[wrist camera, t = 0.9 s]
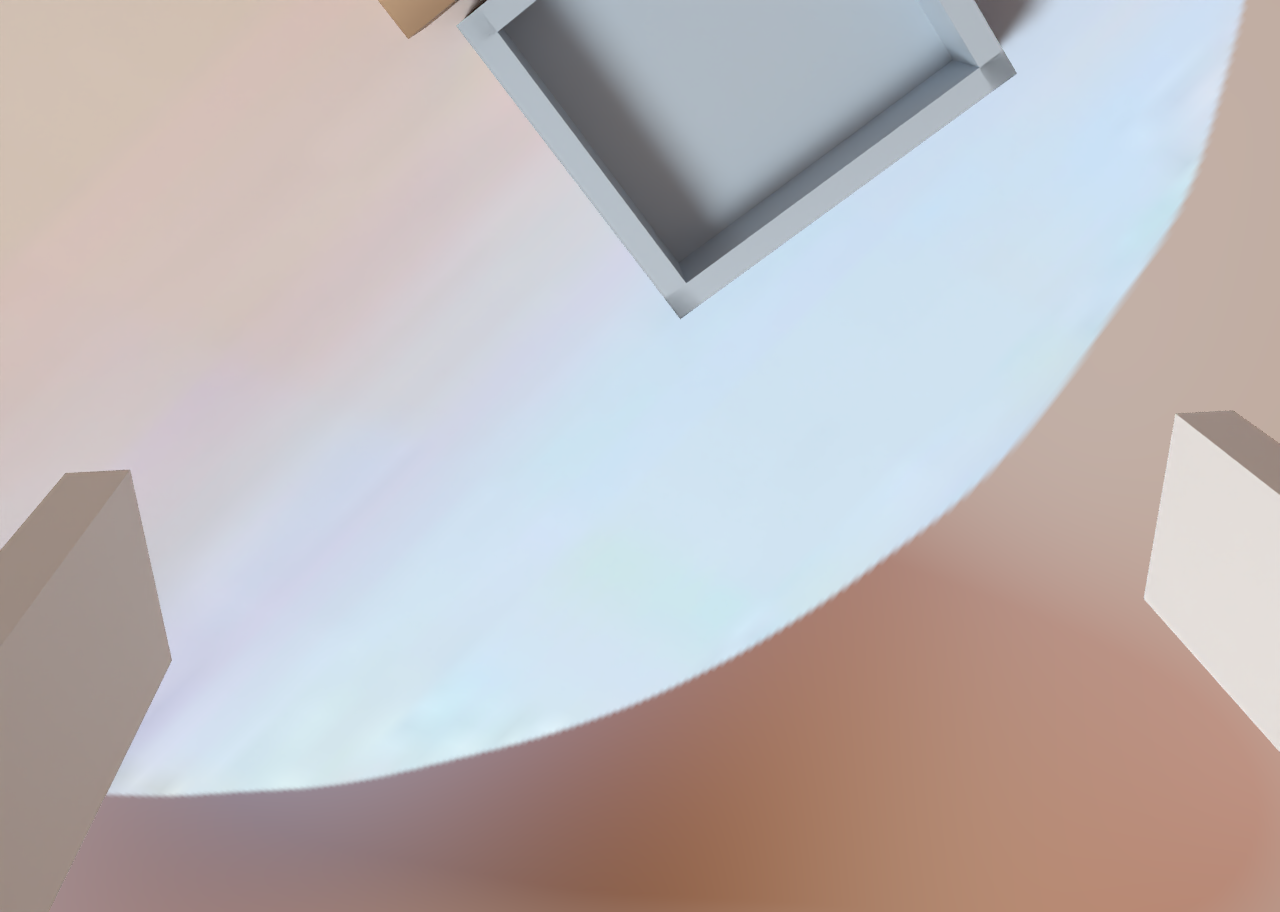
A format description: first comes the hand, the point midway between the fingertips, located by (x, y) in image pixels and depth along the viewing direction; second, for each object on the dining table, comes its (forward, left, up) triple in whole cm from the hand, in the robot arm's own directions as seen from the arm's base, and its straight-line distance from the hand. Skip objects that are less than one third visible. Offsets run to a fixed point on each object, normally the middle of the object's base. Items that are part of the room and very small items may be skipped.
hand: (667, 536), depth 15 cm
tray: (-1, +6, -25) cm, 25 cm away
